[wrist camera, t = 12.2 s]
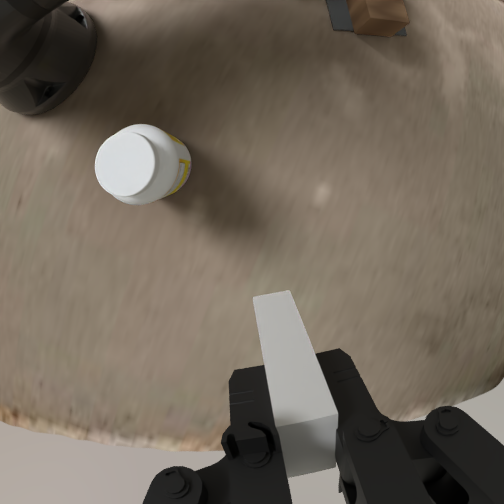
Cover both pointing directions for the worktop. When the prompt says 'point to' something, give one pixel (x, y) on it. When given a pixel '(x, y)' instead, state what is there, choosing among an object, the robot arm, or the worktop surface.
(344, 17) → the mat
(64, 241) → the worktop surface
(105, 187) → the supplement bottle
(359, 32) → the walnut block
